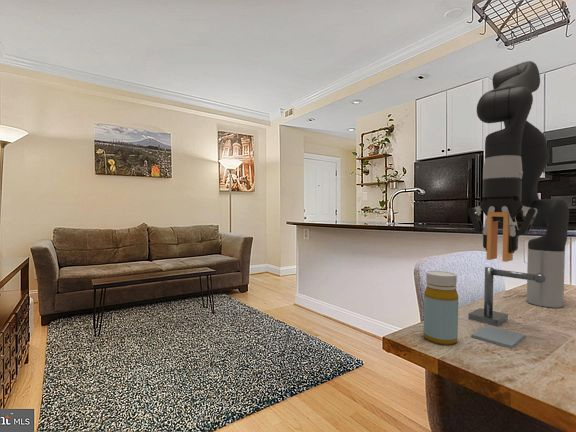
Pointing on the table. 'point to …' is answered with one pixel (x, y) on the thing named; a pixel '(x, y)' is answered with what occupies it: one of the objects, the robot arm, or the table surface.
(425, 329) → the bottle
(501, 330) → the mat
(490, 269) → the stand
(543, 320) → the table surface
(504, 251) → the link
